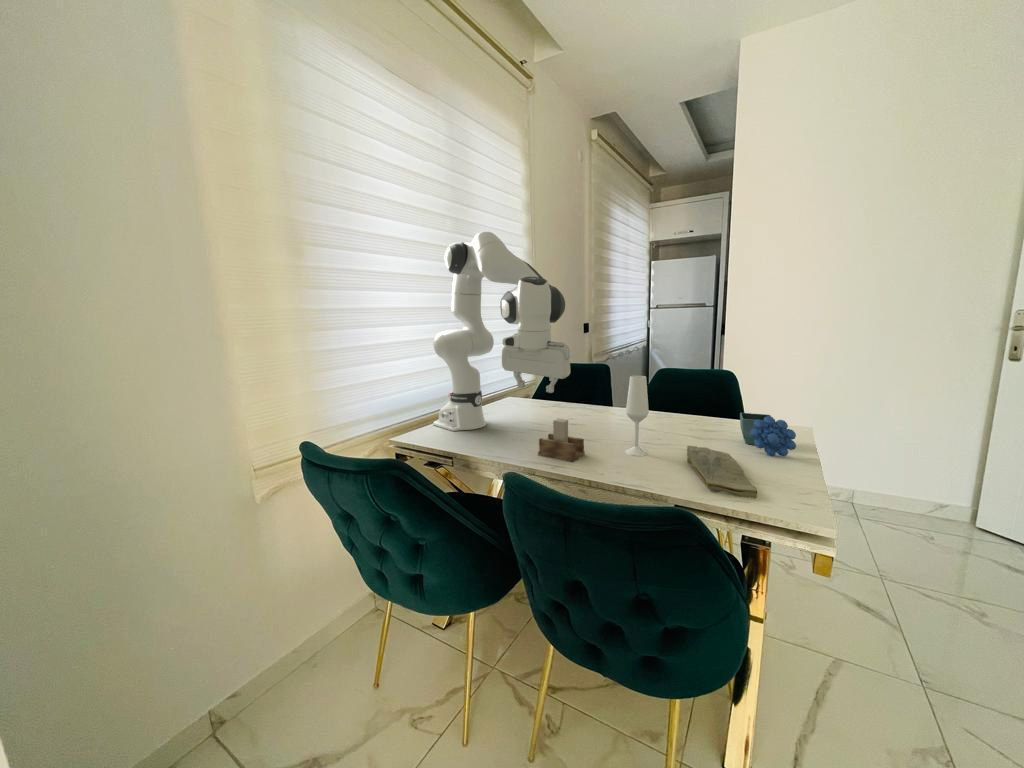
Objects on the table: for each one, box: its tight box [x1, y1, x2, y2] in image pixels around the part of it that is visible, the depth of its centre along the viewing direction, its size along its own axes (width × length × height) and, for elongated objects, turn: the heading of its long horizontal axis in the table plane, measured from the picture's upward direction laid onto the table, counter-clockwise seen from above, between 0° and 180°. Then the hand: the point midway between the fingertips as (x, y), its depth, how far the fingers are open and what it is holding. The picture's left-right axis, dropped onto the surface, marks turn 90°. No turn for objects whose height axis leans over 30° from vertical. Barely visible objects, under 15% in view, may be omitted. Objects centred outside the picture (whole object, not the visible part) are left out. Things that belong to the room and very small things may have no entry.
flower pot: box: [739, 412, 772, 446], centre depth 128 cm, size 9×9×9 cm
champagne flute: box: [625, 375, 650, 457], centre depth 121 cm, size 7×7×24 cm
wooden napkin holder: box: [537, 433, 585, 463], centre depth 123 cm, size 12×8×5 cm, turn 55°
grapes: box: [750, 416, 797, 457], centre depth 115 cm, size 12×7×12 cm, turn 59°
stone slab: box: [686, 445, 758, 499], centre depth 106 cm, size 12×4×30 cm
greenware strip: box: [552, 418, 569, 443], centre depth 122 cm, size 4×3×10 cm
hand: (535, 389), depth 109 cm, fingers open, 8 cm apart
